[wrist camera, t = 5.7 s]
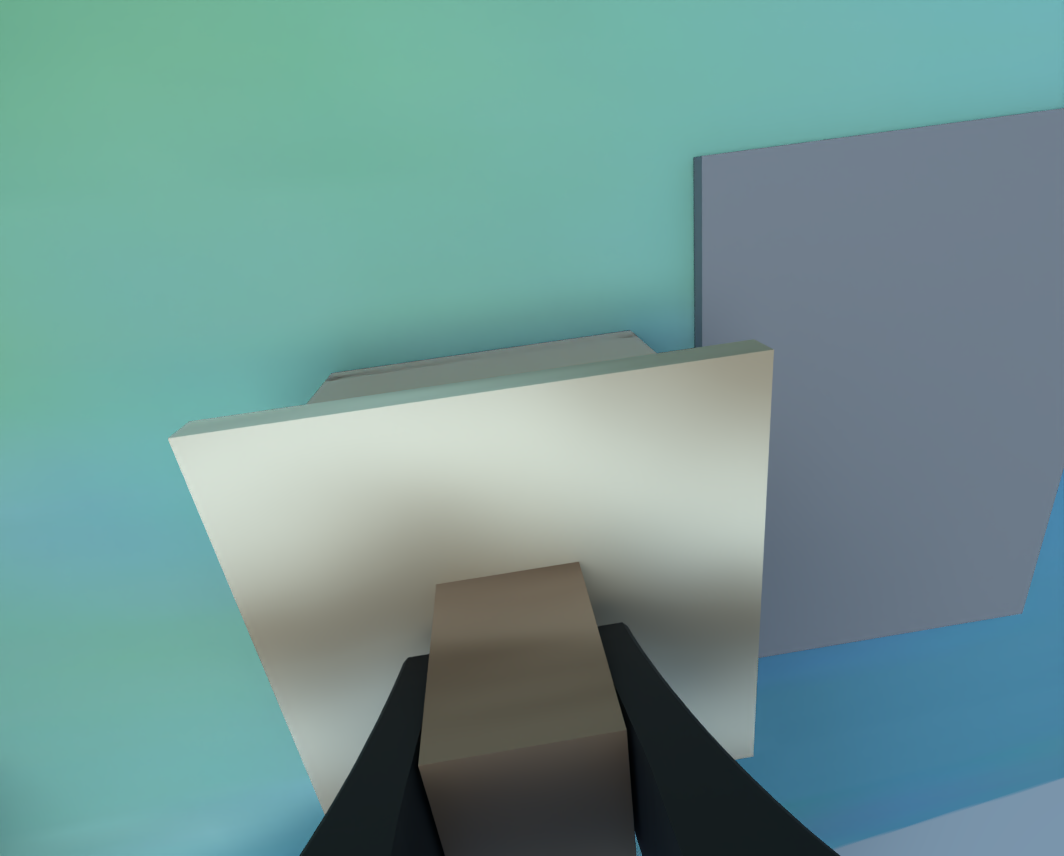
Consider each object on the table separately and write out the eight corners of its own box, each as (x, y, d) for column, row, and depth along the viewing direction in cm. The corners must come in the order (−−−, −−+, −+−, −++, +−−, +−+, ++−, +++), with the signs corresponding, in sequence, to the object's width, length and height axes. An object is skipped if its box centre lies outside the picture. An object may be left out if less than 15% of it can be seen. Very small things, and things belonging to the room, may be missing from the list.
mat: (1008, 603, 23) (1022, 613, 22) (696, 655, 22) (702, 667, 22) (1145, 97, 16) (1170, 94, 15) (693, 157, 15) (702, 156, 15)
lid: (739, 729, 15) (846, 946, 11) (338, 798, 15) (281, 1053, 10) (753, 339, 11) (941, 435, 7) (189, 421, 11) (-17, 583, 6)
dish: (643, 571, 20) (691, 681, 16) (397, 611, 20) (374, 735, 15) (629, 330, 17) (688, 380, 12) (331, 372, 16) (275, 441, 12)
